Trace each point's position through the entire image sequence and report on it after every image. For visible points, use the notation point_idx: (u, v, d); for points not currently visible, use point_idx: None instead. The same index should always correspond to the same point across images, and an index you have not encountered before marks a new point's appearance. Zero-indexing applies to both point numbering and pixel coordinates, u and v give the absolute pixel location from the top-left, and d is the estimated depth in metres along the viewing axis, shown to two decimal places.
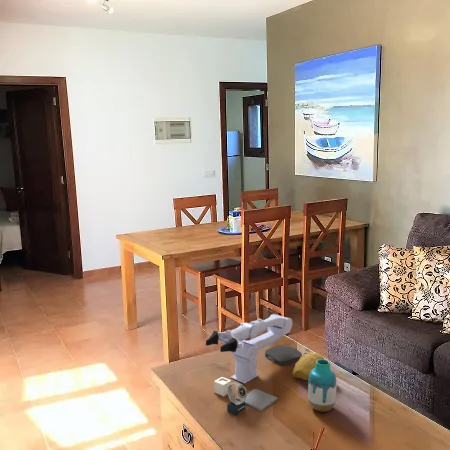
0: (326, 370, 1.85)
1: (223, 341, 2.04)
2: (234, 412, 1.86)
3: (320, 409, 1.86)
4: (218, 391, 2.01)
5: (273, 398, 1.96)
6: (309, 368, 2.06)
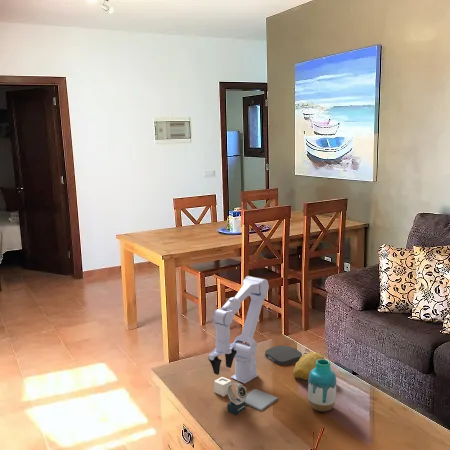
0: (326, 370, 1.85)
1: None
2: (234, 412, 1.86)
3: (320, 409, 1.86)
4: (218, 391, 2.01)
5: (273, 398, 1.96)
6: (310, 368, 2.06)
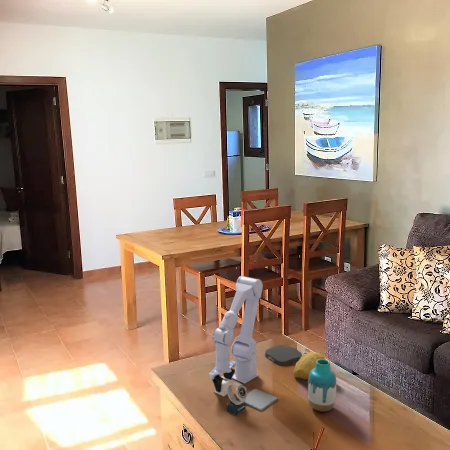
0: (326, 370, 1.85)
1: None
2: (234, 412, 1.86)
3: (320, 409, 1.86)
4: None
5: (273, 398, 1.96)
6: (310, 368, 2.07)
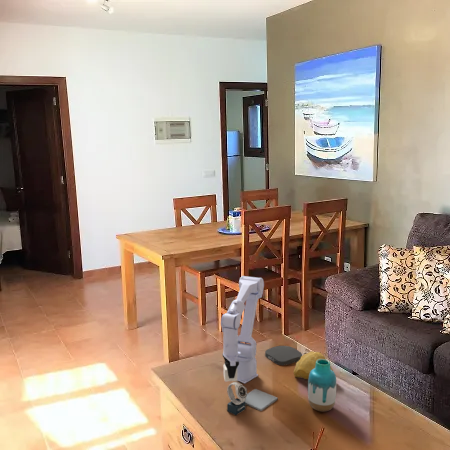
0: (326, 370, 1.85)
1: None
2: (234, 412, 1.86)
3: (320, 409, 1.86)
4: (230, 378, 1.97)
5: (273, 398, 1.96)
6: (311, 367, 2.07)
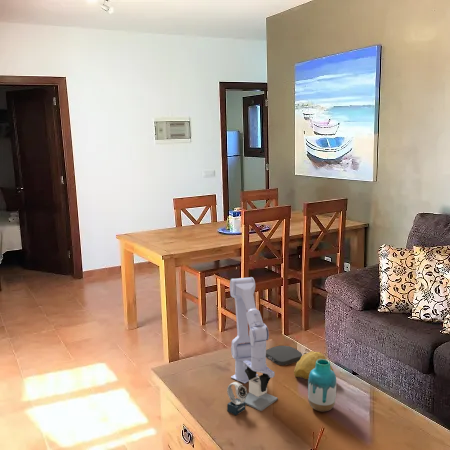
0: (326, 370, 1.85)
1: None
2: (234, 412, 1.86)
3: (320, 409, 1.86)
4: None
5: (273, 398, 1.96)
6: (311, 367, 2.07)
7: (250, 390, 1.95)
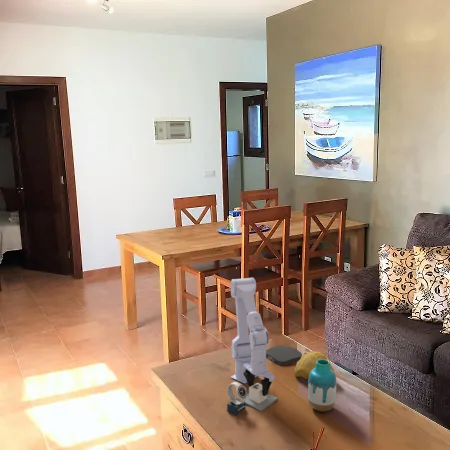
0: (326, 370, 1.85)
1: None
2: (234, 412, 1.86)
3: (320, 409, 1.86)
4: (262, 398, 1.94)
5: (273, 398, 1.96)
6: (311, 367, 2.07)
7: (250, 397, 1.95)
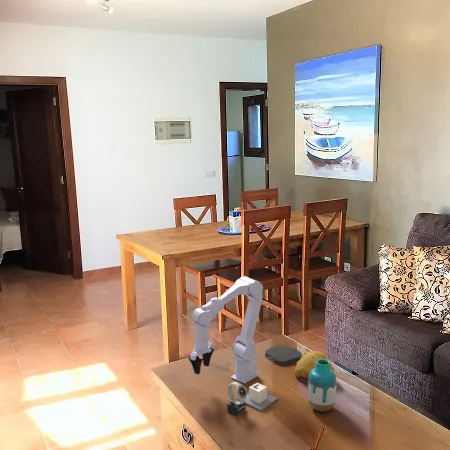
0: (326, 370, 1.85)
1: None
2: (234, 412, 1.86)
3: (320, 409, 1.86)
4: (262, 398, 1.94)
5: (273, 398, 1.96)
6: (312, 367, 2.08)
7: (250, 397, 1.95)
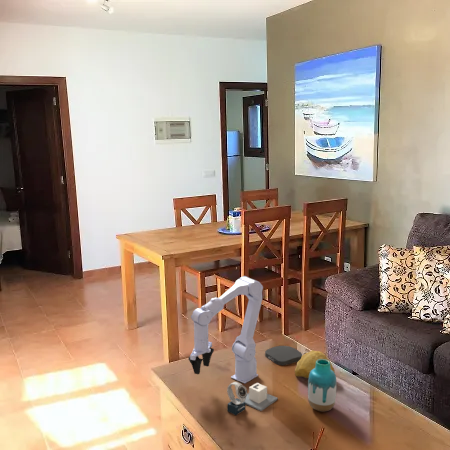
0: (326, 370, 1.85)
1: None
2: (234, 412, 1.86)
3: (320, 409, 1.86)
4: (262, 398, 1.94)
5: (273, 398, 1.96)
6: (312, 366, 2.08)
7: (250, 397, 1.95)
